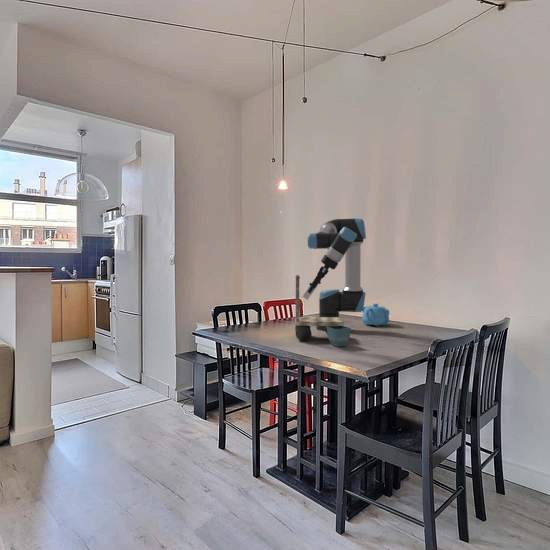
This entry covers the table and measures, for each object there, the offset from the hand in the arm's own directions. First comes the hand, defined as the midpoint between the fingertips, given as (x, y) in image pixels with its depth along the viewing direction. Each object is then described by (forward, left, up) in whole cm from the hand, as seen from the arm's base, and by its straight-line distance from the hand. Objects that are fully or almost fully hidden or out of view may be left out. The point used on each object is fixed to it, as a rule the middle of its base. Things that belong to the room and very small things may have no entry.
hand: (307, 295), depth 189 cm
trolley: (-13, -15, -24) cm, 31 cm away
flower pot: (-15, +4, -24) cm, 29 cm away
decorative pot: (-65, -44, -24) cm, 82 cm away
